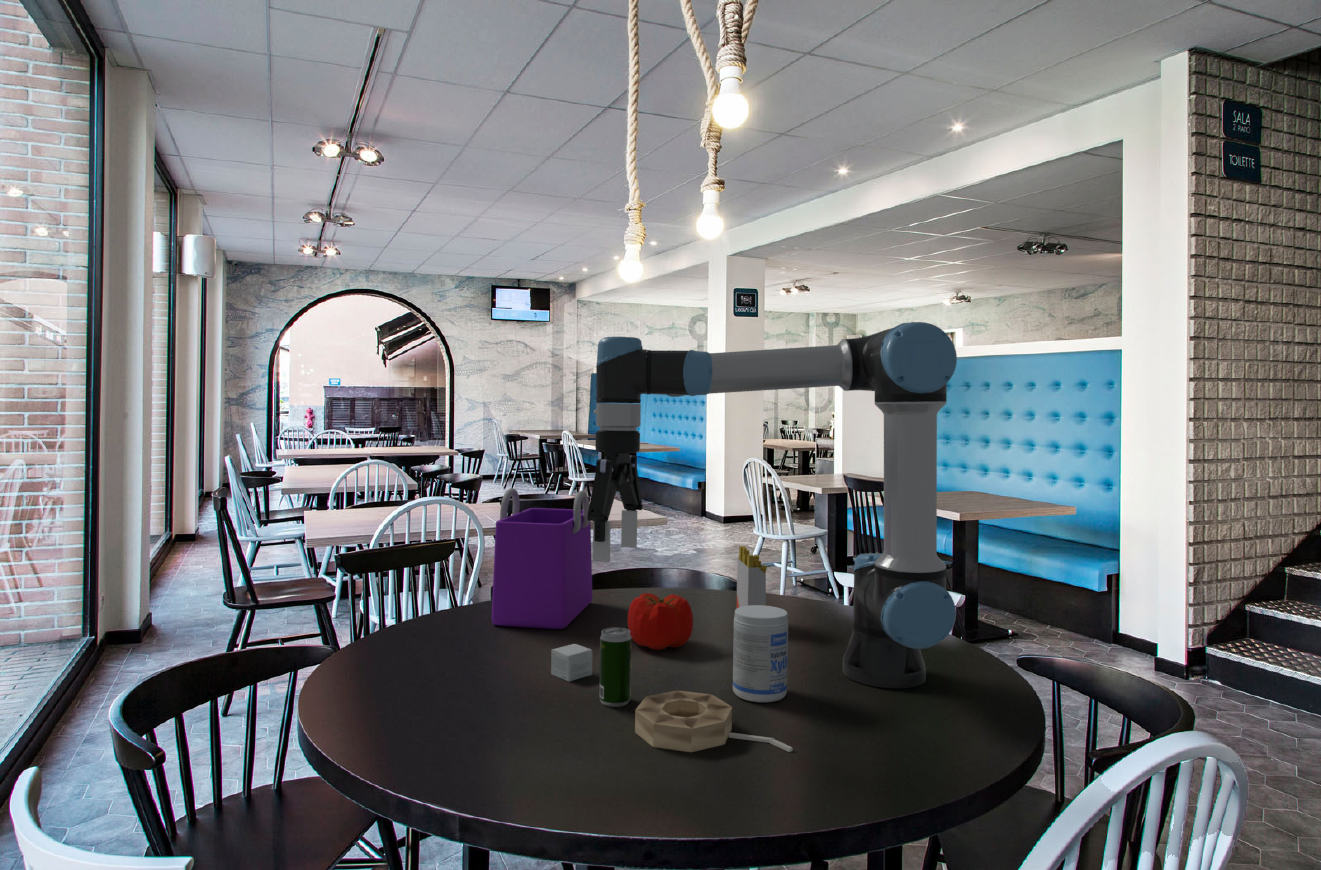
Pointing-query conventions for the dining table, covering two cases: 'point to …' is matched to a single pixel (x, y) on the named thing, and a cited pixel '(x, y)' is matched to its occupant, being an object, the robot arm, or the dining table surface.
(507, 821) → the dining table surface
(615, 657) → the beer can
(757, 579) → the french fries container
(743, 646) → the supplement tub
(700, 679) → the dining table surface
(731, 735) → the drinking straw
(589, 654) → the small box
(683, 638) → the tomato
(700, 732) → the tan octagonal bowl
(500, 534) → the shopping bag
